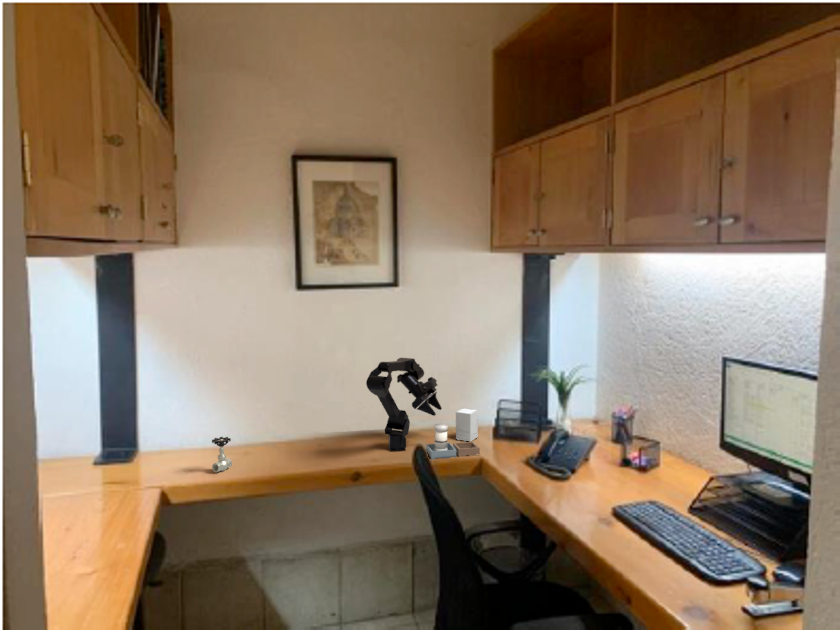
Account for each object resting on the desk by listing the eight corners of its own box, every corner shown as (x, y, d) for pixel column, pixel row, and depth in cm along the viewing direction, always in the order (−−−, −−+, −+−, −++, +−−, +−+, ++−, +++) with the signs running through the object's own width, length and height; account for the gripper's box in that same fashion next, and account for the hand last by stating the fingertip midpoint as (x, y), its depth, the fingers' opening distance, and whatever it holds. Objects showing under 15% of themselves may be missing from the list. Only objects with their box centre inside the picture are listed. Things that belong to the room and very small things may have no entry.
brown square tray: (458, 456, 253) (458, 449, 252) (453, 450, 261) (453, 443, 261) (479, 455, 255) (479, 447, 254) (473, 448, 263) (473, 441, 263)
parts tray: (431, 459, 250) (431, 451, 249) (426, 451, 259) (426, 444, 259) (456, 457, 252) (456, 450, 252) (449, 449, 262) (449, 442, 261)
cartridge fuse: (436, 454, 252) (436, 427, 251) (432, 450, 258) (433, 424, 257) (448, 454, 254) (448, 426, 253) (445, 450, 259) (445, 423, 258)
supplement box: (478, 438, 278) (478, 410, 276) (470, 442, 271) (470, 413, 270) (463, 435, 282) (463, 407, 280) (455, 440, 275) (455, 411, 274)
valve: (209, 472, 236) (208, 440, 235) (222, 466, 242) (221, 435, 241) (222, 474, 233) (221, 442, 232) (235, 469, 239) (234, 438, 237)
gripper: (418, 377, 258) (445, 405, 256) (431, 368, 276) (456, 394, 274) (400, 394, 262) (426, 423, 260) (414, 384, 279) (439, 411, 277)
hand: (438, 412), depth 268 cm, fingers open, 9 cm apart
